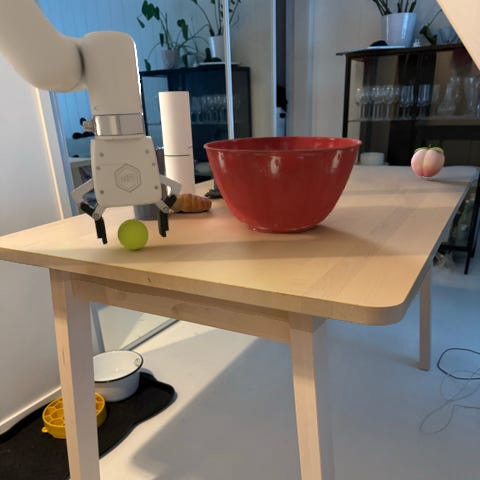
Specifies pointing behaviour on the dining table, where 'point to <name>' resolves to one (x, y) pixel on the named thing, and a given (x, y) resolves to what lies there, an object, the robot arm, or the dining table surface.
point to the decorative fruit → (428, 161)
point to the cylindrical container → (177, 139)
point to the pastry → (191, 203)
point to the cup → (151, 209)
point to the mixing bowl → (282, 179)
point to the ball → (132, 234)
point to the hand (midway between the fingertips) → (134, 238)
